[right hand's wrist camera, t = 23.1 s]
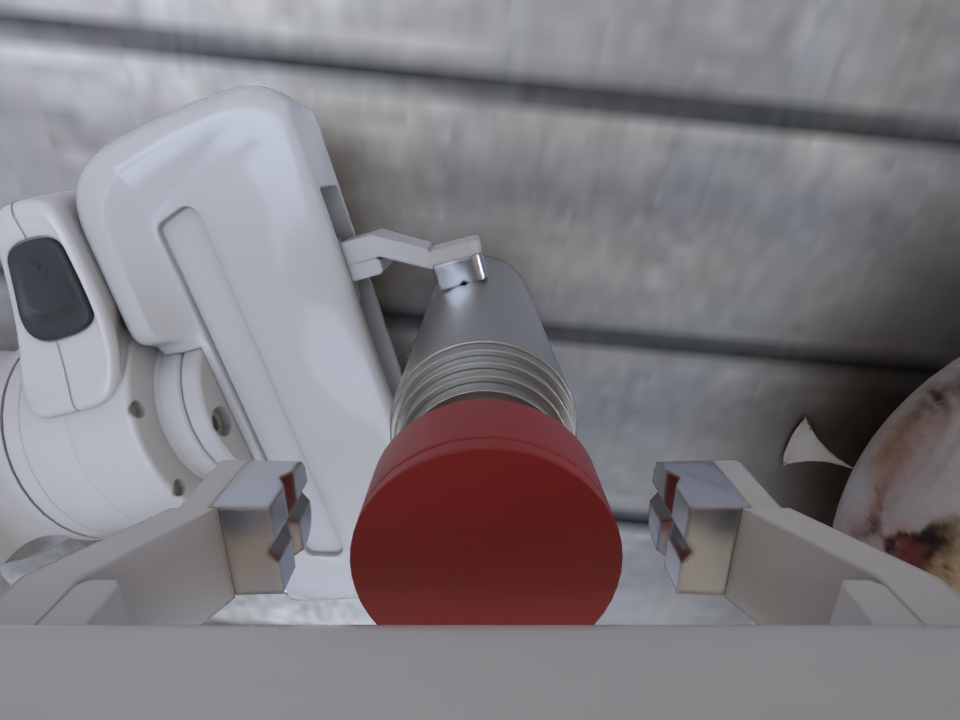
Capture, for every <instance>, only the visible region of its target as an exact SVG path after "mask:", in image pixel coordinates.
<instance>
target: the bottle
mask: <svg viewBox="0 0 960 720" xmlns="http://www.w3.org/2000/svg"><path fill="white" fill-rule="evenodd" d="M484 259H485V263H486V267H487V271H488V278H486V279H484V280H481V281H478V282H471V283H467V282H465V281H463V282H462V283H461V284H460V286H457V287H454V288H452V289H448V290H444V291H441V290H440V286H439V283H438V282H437V284H436V286H435V288H434V291H433V294H432V297H431V299H430V302H429V305H428V307H427V310H426V313H425V316H424V318H423V321H422V324H421V326H420V329H419V332H418V334H417V337H416V340H415V343H414V345H413V348H412V351H411V353H410V356H409V359H408V362H407V364H406V367H405V370H404V372H403V375H402V378H401V381H400V383H399V386H398V389H397V391H396V394H395V397H394V399H393V403H392V407H391V412H390V441H392V439H393V438H394V437H395V436H396V435H397V434H398V433H399V432H400V431H401V430H402V429H403V428H404V427H406V426H407V425H408V424H410V423H411V422H413V421H414V420H415V419H417V418H419V417H420V416H422V415H424V414H426V413H428V412H429V411H432V410H434V409H437V408H439V407H442V406H445V405H448V404H452V403H454V402H458V401H467V400H475V399H495V400H504V401H512V402H516V403H519V404H523V405H526V406H528V407H531V408H534V409H537V410H539V411H541V412H543V413H545V414H547V415H549V416H551V417H552V418H554V419H555V420H556V421H558V422H559V423H561V424H562V425H564V426H565V427H566V428H567V429H568V430H569V431H570V432H571V433H572V434H573V435H574V436H575V437H576V436H577V419H576V410H575V405H574V401H573V398H572V396H571V393H570V390H569V388H568V386H567V383H566V381H565V378H564V376H563V374H562V371H561V369H560V367H559V364H558V362H557V359H556V357H555V355H554V352H553V350H552V347H551V345H550V343H549V340H548V338H547V336H546V333H545V331H544V328H543V326H542V324H541V321H540V319H539V316H538V314H537V312H536V309H535V307H534V305H533V302H532V300H531V297H530V295H529V293H528V290H527V288H526V286H525V283H524V281H523V280H522V278H521V277H520V275H519V274H518V273H517V272H516V270H515V269H514V268H512V267H511V266H510V265H508V264H507V263H505V262H504V261H501V260H499V259H496V258H493V257H488V256H484Z"/></svg>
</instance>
